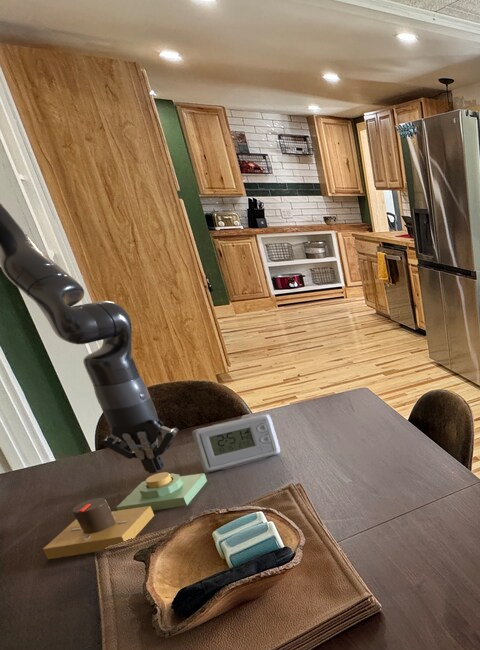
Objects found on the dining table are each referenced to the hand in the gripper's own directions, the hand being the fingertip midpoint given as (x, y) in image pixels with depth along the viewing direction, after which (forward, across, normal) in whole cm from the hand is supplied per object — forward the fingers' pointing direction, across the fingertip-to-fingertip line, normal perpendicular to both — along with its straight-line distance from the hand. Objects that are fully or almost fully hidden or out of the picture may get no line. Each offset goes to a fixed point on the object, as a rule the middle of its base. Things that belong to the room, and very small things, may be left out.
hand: (156, 471), depth 104 cm
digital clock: (+7, -11, -13) cm, 18 cm away
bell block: (+7, 0, 0) cm, 7 cm away
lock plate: (+7, +5, +12) cm, 15 cm away
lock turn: (+4, +5, +12) cm, 14 cm away
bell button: (+3, 0, 0) cm, 3 cm away
